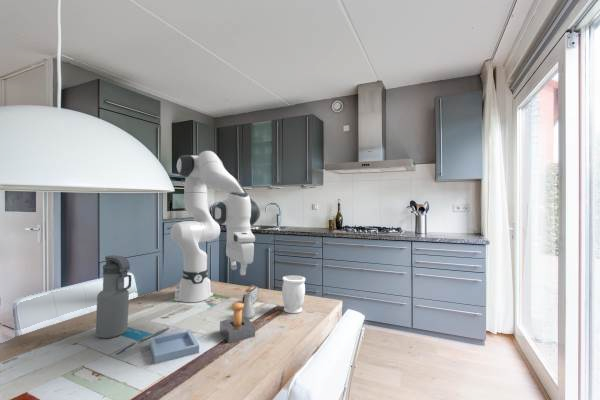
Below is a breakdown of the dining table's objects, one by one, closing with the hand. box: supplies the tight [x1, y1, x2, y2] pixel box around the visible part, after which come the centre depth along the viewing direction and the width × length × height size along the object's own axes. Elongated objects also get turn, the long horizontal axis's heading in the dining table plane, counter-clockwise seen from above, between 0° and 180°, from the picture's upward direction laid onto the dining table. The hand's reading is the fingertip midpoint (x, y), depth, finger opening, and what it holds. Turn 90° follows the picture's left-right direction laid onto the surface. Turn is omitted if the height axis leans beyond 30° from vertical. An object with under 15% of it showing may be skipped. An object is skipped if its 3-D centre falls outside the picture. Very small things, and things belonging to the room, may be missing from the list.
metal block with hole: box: [219, 316, 256, 344], centre depth 108 cm, size 10×10×4 cm
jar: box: [281, 274, 306, 314], centre depth 134 cm, size 11×10×15 cm
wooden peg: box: [231, 302, 244, 327], centre depth 108 cm, size 4×4×11 cm
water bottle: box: [95, 254, 132, 339], centre depth 106 cm, size 10×10×28 cm
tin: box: [241, 284, 259, 305], centre depth 139 cm, size 15×3×8 cm, turn 168°
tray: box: [149, 329, 200, 365], centre depth 96 cm, size 13×13×2 cm
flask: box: [242, 292, 256, 320], centre depth 125 cm, size 7×7×10 cm
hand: (238, 272), depth 109 cm, fingers open, 8 cm apart
